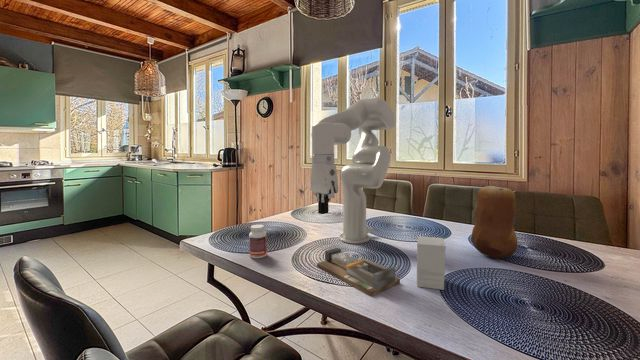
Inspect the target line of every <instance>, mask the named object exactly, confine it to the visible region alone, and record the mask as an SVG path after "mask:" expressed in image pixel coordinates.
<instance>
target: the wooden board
mask: <svg viewBox="0 0 640 360" xmlns="http://www.w3.org/2000/svg"><path fill="white" fill-rule="evenodd" d="M361 260H363V261H364V263H366V264H368V271H366V270H364V269H362V268H359V267H357V266H353V267H350V268H347V269H345V268H343V267H341V266H339V265H337V264H335V263H333V262H331V261H330V262H328V261H326V260H324V261H319V262H317V263H316V267H317V268H319V269H320V270H321V271H323V272H326V273H327V274H330V275H331V276H333V277H335V278H336V279H338V280H340V281H342V282H344V283H346V284H348V285H349V286H351V287H353V288H355V289H357V290H358V291H360V292H362V293H364V294H365V295H367V296H370V297H373V296H375V295H377V294H379V293H381V292H384V291H387V290H388V289H390V288H392V287H395V286H398V285H399V284H400V283H401V279H400V278H398V277H396V267H394V266H390V267H386V266H384V265H381V264H378V263H376V262H374V261H372V260H370V259H368V258H362V259H361ZM350 264H351V263H350ZM347 265H349V264H347Z"/></svg>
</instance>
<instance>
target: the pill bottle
mask: <svg viewBox="0 0 640 360" xmlns="http://www.w3.org/2000/svg"><path fill="white" fill-rule="evenodd" d="M248 241H249V242H248V243H249V246H248V247H249V256H250V258H252V259H263V258H265V257H267V255H268V245H267V243H268V242H267V232H266V231H265V226H264V224H253V225H251V226H250V232H249V234H248Z"/></svg>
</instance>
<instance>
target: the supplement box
mask: <svg viewBox="0 0 640 360" xmlns="http://www.w3.org/2000/svg"><path fill="white" fill-rule="evenodd" d="M416 244H417V245H416V286H417V288H418V287H419V288H427V289H434V290H442V291H443V290H445V273H446V248H447V247H446V246H447V245H446V243H445V240H444V237H434V236H433V237H431V236H420V235H419V236H417V243H416Z"/></svg>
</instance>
